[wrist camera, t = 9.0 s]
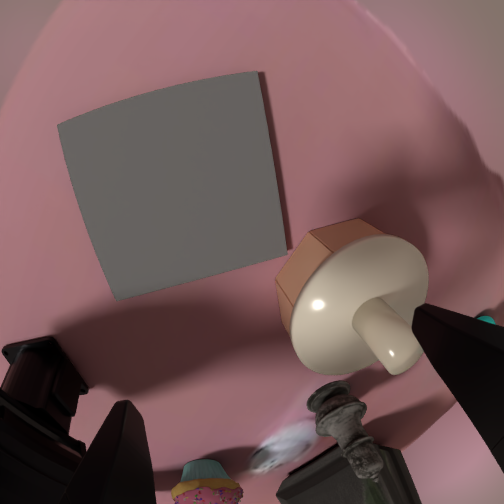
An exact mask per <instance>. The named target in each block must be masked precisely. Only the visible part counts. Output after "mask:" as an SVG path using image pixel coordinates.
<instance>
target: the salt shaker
mask: <svg viewBox="0 0 504 504" xmlns="http://www.w3.org/2000/svg"><path fill="white" fill-rule="evenodd" d="M350 389H351V388H350V385H349V384H348V382H345V381H335V382H331V383H328V384H326V385H324V386H322V387H321V388H319V389H318V390H316V391H315V392H314V393H313V394H312V395H311V396H310V398H309V399H308V401H307V408H308V410H309V411H311V412H314V413H316V433H317V434H318V435H320V436H324V437H327V436H333V437H334V438H335V439H336V440H337V442H338V444H339V446H340V448H341V450H342V453H341V456H342V457H344V458H347V459H348V461H349V463H350V465H351V466H352V468H353V470H354V472H355V474H356V476H357V477H358V478H361V479H367V478H373V481H375V482H377V483H378V482H379V477H377V475H378V474H379V472H380V471H381V469H382V468H383V460H382V458H381V457H380V455H379V454H378V452H377V450H376V449H375V447H374V445H373V444H372V443H373V441H374V438H373V437H371V436H368V434H367V433H366V431H365V429H364V428H363V426H362V423H361V419H362V418H363V416H364V415H365V413H366V410H367V405H366V404H365V403H364V402H361V401H359V399H357V398H356V397H354V396H352V395H348V394H349V393H350Z"/></svg>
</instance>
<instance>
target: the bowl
mask: <svg viewBox="0 0 504 504" xmlns="http://www.w3.org/2000/svg"><path fill="white" fill-rule="evenodd" d="M374 234H385V233H383V232H382V231H380V230H378V229H377V228H375V227H373V226H371V225H370V224H368V223H366V222H365V221H363V220H361V219H360V218H357V219H353V220H349V221H345V222H342V223H338V224H334V225H330V226H326V227H323V228H319V229H315V230H311V231H310V233H309V232H308V233H307V234H306V236H305V237H304V239H303V240H302V242H301V243H300V244H299V246H298V247H297V249H296V250H295V251H294V253H293V254H292V256H291V257H290V258H289V260H288V261H287V263H286V264H285V265H284V267H283V268H282V270H281V271H280V272H279V274H278V275H277V277H276V280H275V283H276V289H277V295H278V301H279V308H280V314H281V320H282V323H283V325H284V327H285V329H286V331H287V332H288V334H289V336H290V330H289V326H290V318H291V314H292V310H293V307H294V304H295V301H296V299H297V297H298V295H299V293H300V291H301V289H302V287H303V286H304V284H305V283H306V281H307V280H308V278H309V277H310V276H311V275H312V274H313V272H314V271H315V270H316V269H317V268H318V267H319V266H320V265H321V264H322V263H323V262H324V261H325V260H326V259H327V258H328V257H329V256H331V255H332V254H333V253H334V252H336V251H337V250H339V249H340V248H342V247H343V246H345V245H347V244H348V243H350V242H352V241H354V240H357V239H360V238H362V237H365V236H370V235H374Z"/></svg>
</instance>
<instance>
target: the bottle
mask: <svg viewBox="0 0 504 504" xmlns="http://www.w3.org/2000/svg"><path fill="white" fill-rule="evenodd" d="M372 444H373V445H374V447H375V449H376V450H377V452H378V454H379V455H380V457H381V458H382V460H383V468H382V469H381V471H380V472H379V474H378V475H377V477H379V482H378V483H377V482H375V481H373V478H367V479H361V478H358V477H357V476H356V474H355V472H354V470H353V468H352V466H351V465H350V463H349V461H348V459H347V458H344V457H342V456H341V453H342V450H341V448H340V446H339V445H338V446H337V447H335V448H334V449H332V450H331V451H329V452H328V453H326V454H325V455H323V456H321V457H320V458H318V459H317V460H315V461H313V462H312V463H310V464H309V465H307V466H305V467H304V468H302V469H300V470H298V471H297V472H295V473H293V474H291V475H290V476H288V477H287V478H286V479H285V480H284V481H283V482H282V483H281V485H280V487H279V489H278V491H277V493H276V497H277V498H278V500H279V502H280V503H281V504H422V503H421V501H420V498H419V495H418V493H417V490H416V488H415V485H414V483H413V480H412V478H411V475H410V473H409V470H408V468H407V465H406V463H405V460H404V458H403V456H402V453H401V451H400V450H399V449H394V448H390V447H385V446H381V445H377V444H374V443H372Z"/></svg>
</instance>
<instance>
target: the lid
mask: <svg viewBox="0 0 504 504" xmlns="http://www.w3.org/2000/svg"><path fill="white" fill-rule="evenodd" d="M428 282H429V281H428V269H427V265H426V262H425V259H424V257H423V255H422V254H421V252H420V251H419V250H418V249H417V248H416V247H415V246H414V245H412V244H411V243H409V242H407V241H406V240H404V239H402V238H400V237H398V236H394V235H390V234H374V235H370V236H365V237H362V238H360V239H357V240H354V241H352V242H350V243H348V244H347V245H345V246H343V247H342V248H340V249H339V250H337V251H336V252H334V253H333V254H332V255H331V256H329V257H328V258H327V259H326V260H325V261H324V262H323V263H322V264H321V265H320V266H319V267H318V268H317V269H316V270H315V271H314V272H313V274H312V275H311V276H310V277H309V278H308V280H307V281H306V283H305V284H304V286H303V287H302V289H301V291H300V293H299V295H298V297H297V299H296V301H295V304H294V307H293V310H292V314H291V318H290V326H289V330H290V339H291V343H292V346H293V348H294V350H295V352H296V354H297V356H298V357H299V359H300V360H301V362H302V363H303V364H304V365H305V366H306V367H307V368H309V369H310V370H312V371H314V372H317V373H319V374H324V375H343V374H348V373H352V372H355V371H358V370H361V369H363V368H365V367H367V366H369V365H371V364H373V363H375V362H377V361H378V360H379V361H380V362H381V363H382V364H383V365H384V367H385V368H386V369H387V370H388V372H389V373H390V374H392V375H397V374H401V373H403V372H405V371H406V370H408V369H409V368H411V367H412V366H413V365H414V364H415V363H416V362H417V361H418V360H419V358H420V357H421V355H422V354H423V352H424V351H423V349H422V347H421V346H420V344H419V343H418V341H417V339H416V338H415V336H414V334H413V332H412V329H411V325H412V320H413V314H414V310H415V308H416V307H418V306H420V305H422V304H424V302H425V299H426V295H427V291H428Z"/></svg>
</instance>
